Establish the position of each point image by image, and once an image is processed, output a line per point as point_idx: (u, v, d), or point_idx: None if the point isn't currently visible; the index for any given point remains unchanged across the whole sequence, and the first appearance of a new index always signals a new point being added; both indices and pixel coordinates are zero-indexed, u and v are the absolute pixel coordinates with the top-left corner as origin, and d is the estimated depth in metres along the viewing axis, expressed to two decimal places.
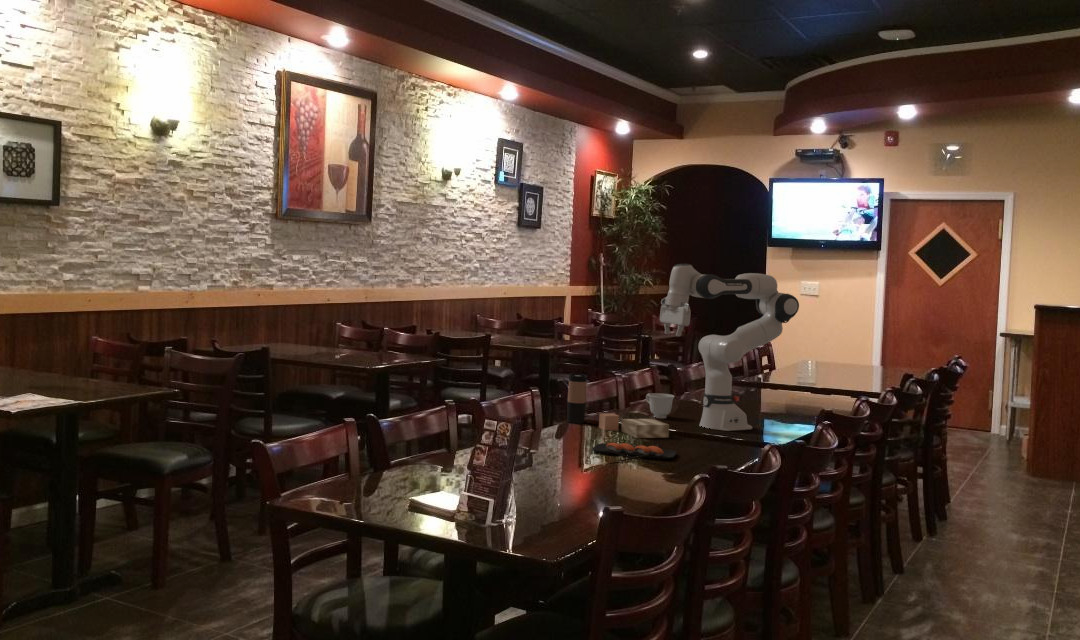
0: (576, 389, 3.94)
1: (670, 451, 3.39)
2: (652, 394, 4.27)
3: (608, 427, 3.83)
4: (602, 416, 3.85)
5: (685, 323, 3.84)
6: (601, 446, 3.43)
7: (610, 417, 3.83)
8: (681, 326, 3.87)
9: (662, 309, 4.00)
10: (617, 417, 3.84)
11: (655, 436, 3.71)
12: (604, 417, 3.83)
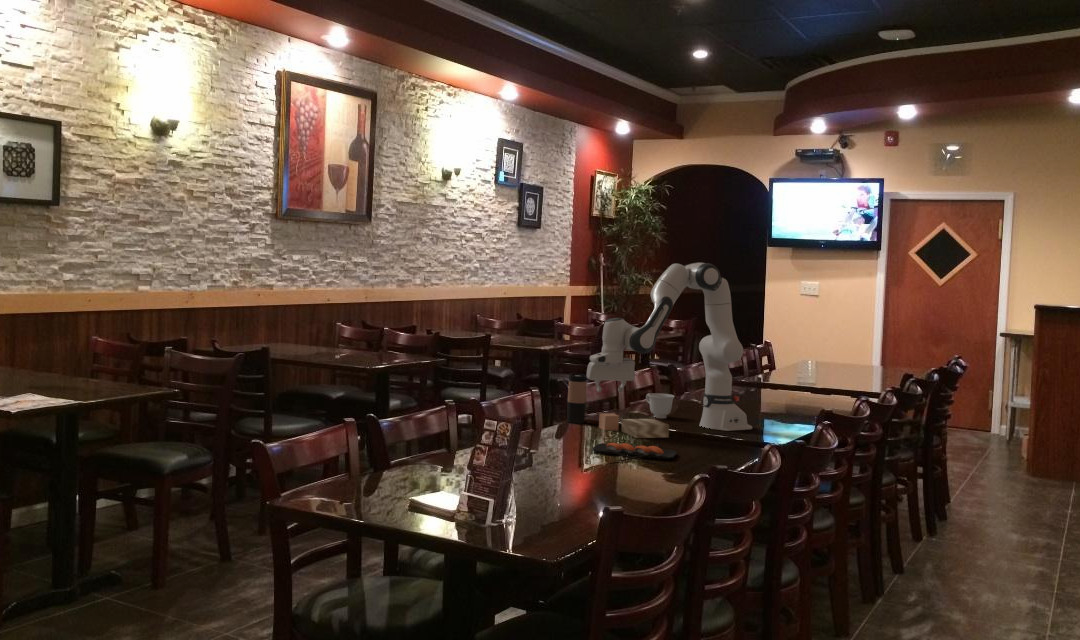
0: (576, 389, 3.94)
1: (670, 451, 3.39)
2: (652, 394, 4.27)
3: (608, 427, 3.83)
4: (602, 416, 3.85)
5: None
6: (601, 446, 3.43)
7: (610, 417, 3.83)
8: None
9: (595, 367, 3.80)
10: (617, 417, 3.84)
11: (655, 436, 3.71)
12: (604, 417, 3.83)
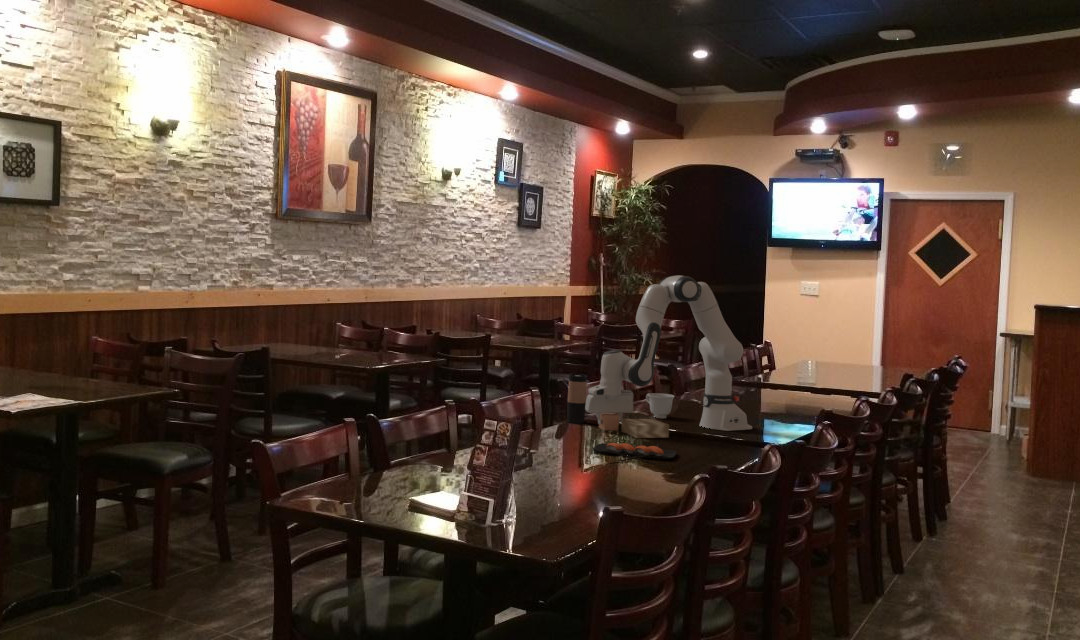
0: (576, 389, 3.94)
1: (670, 451, 3.39)
2: (652, 394, 4.27)
3: (608, 426, 3.83)
4: (602, 416, 3.85)
5: None
6: (601, 446, 3.43)
7: (610, 417, 3.83)
8: None
9: (594, 400, 3.81)
10: (617, 417, 3.84)
11: (655, 436, 3.71)
12: (604, 417, 3.83)
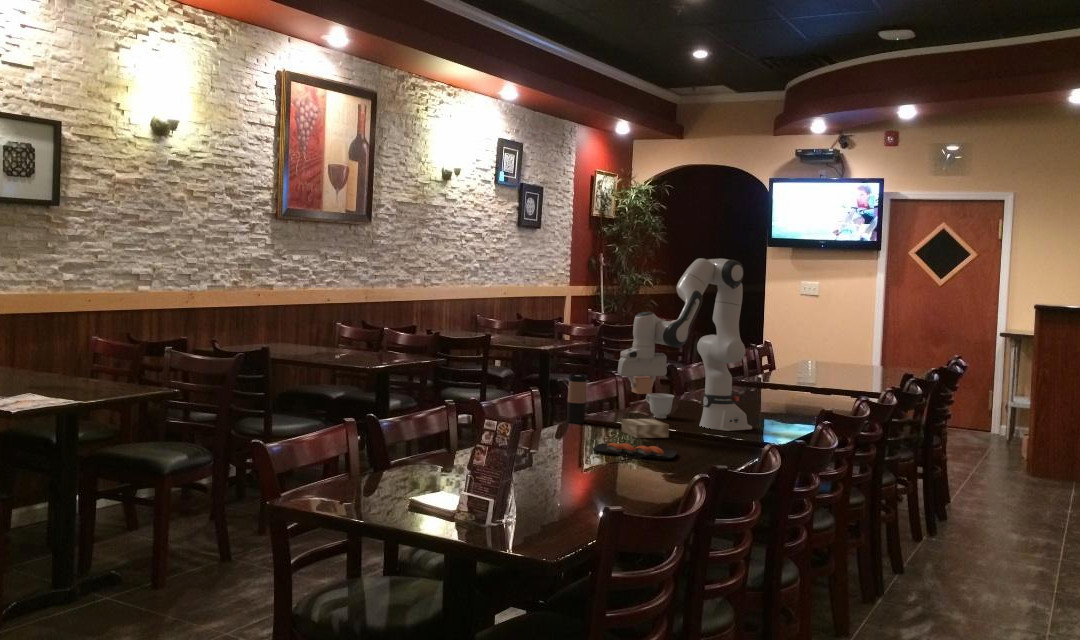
0: (576, 389, 3.94)
1: (671, 451, 3.39)
2: (652, 394, 4.27)
3: (641, 390, 3.75)
4: (635, 379, 3.77)
5: None
6: (602, 446, 3.43)
7: (643, 380, 3.75)
8: None
9: (626, 363, 3.73)
10: (650, 380, 3.76)
11: (655, 436, 3.71)
12: (638, 380, 3.75)
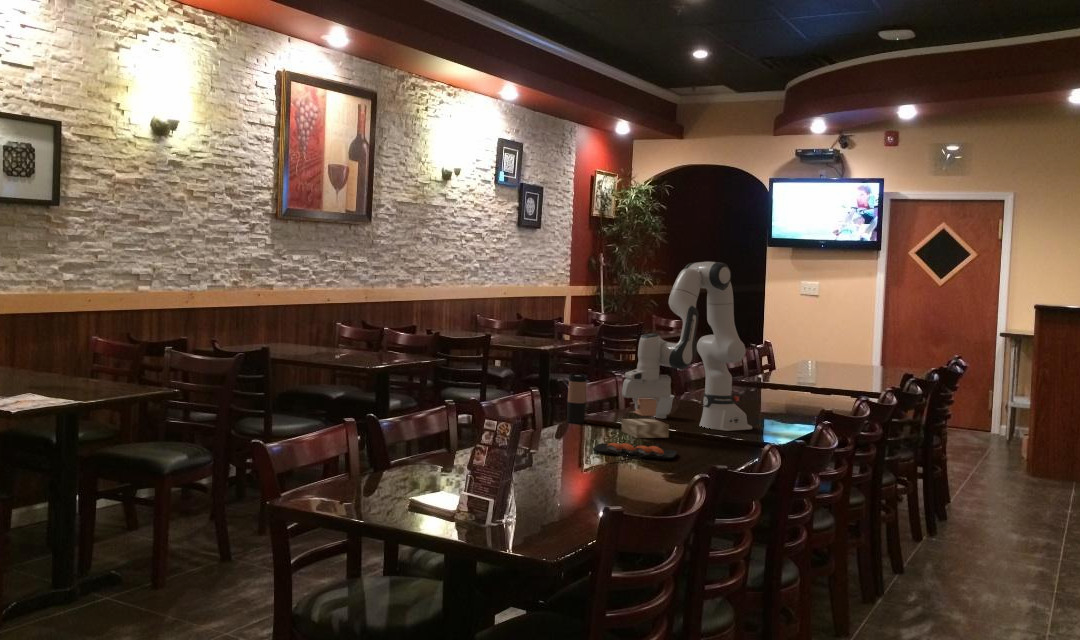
0: (576, 389, 3.94)
1: (671, 451, 3.39)
2: None
3: (645, 412, 3.74)
4: (639, 401, 3.76)
5: None
6: (602, 446, 3.43)
7: (647, 402, 3.74)
8: None
9: (631, 384, 3.72)
10: (655, 402, 3.75)
11: (655, 436, 3.71)
12: (642, 402, 3.73)
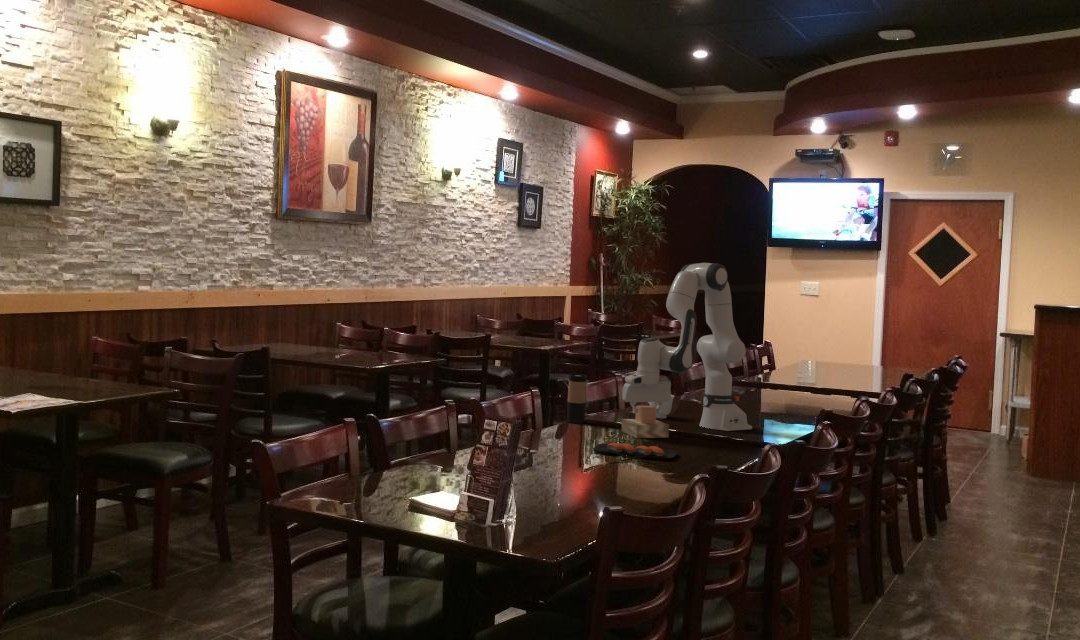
0: (576, 389, 3.94)
1: (671, 451, 3.39)
2: None
3: (645, 419, 3.74)
4: (639, 408, 3.76)
5: None
6: (602, 446, 3.43)
7: (647, 409, 3.74)
8: None
9: (631, 388, 3.72)
10: (654, 409, 3.75)
11: (655, 436, 3.71)
12: (642, 410, 3.74)
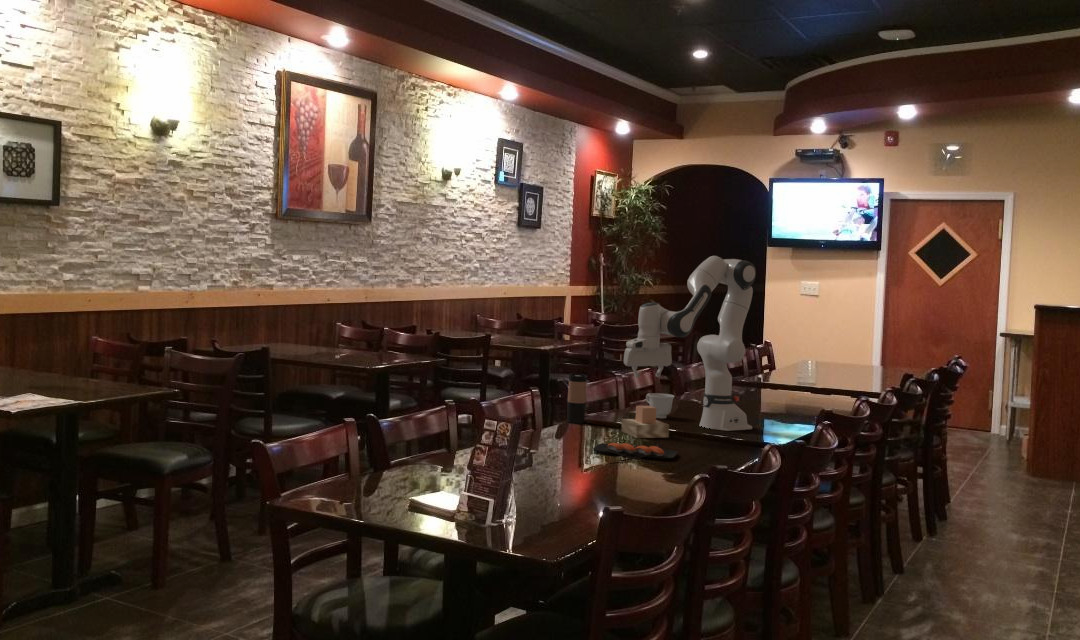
0: (576, 389, 3.94)
1: (671, 451, 3.39)
2: (652, 394, 4.27)
3: (645, 419, 3.74)
4: (639, 408, 3.76)
5: None
6: (602, 446, 3.43)
7: (647, 409, 3.74)
8: None
9: (632, 353, 3.77)
10: (654, 409, 3.75)
11: (655, 436, 3.71)
12: (642, 410, 3.74)
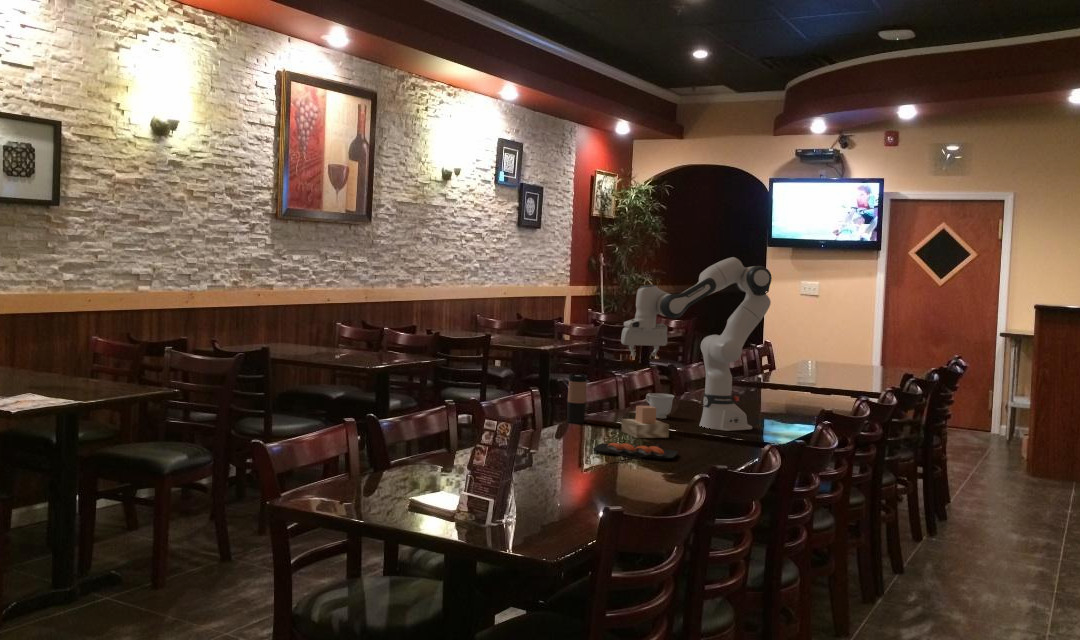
0: (576, 389, 3.94)
1: (671, 451, 3.39)
2: (652, 394, 4.27)
3: (645, 419, 3.74)
4: (639, 408, 3.76)
5: None
6: (602, 446, 3.43)
7: (647, 409, 3.74)
8: None
9: (629, 332, 3.93)
10: (654, 409, 3.75)
11: (655, 436, 3.71)
12: (642, 410, 3.74)
